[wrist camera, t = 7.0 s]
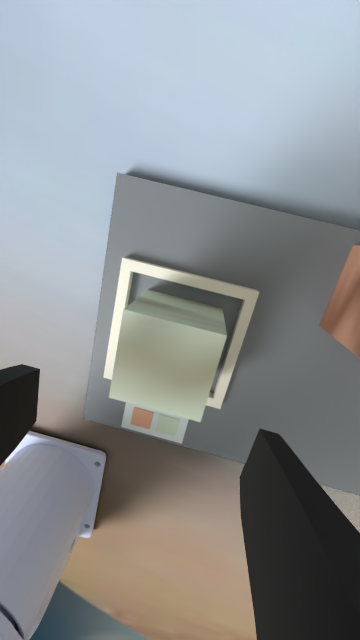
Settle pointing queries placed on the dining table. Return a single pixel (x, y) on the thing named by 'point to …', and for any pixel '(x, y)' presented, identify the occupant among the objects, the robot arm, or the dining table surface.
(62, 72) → the dining table surface
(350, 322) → the terracotta block
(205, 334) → the sage block
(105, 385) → the grey board
